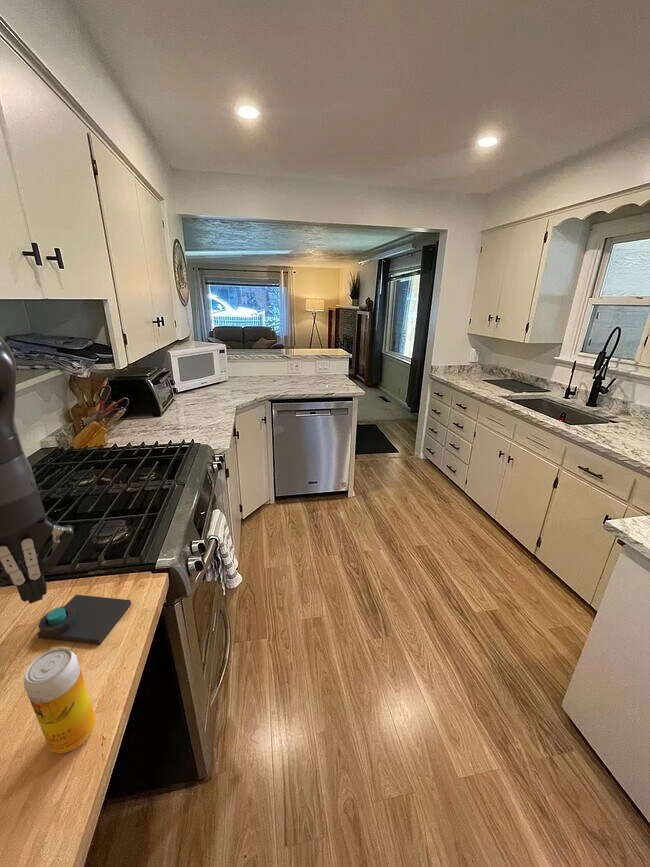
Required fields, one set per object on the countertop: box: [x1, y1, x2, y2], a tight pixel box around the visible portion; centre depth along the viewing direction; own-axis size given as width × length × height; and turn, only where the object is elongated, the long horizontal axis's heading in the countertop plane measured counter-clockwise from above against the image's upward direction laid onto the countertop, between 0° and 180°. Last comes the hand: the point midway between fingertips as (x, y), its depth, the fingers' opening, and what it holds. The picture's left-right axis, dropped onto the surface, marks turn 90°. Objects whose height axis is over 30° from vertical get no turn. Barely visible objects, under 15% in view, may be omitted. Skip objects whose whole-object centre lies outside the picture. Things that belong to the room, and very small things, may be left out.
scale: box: [37, 594, 132, 646], centre depth 74 cm, size 13×10×3 cm
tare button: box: [47, 606, 67, 625], centre depth 72 cm, size 3×3×2 cm
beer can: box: [23, 647, 97, 754], centre depth 53 cm, size 6×6×15 cm
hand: (36, 598), depth 51 cm, fingers closed
